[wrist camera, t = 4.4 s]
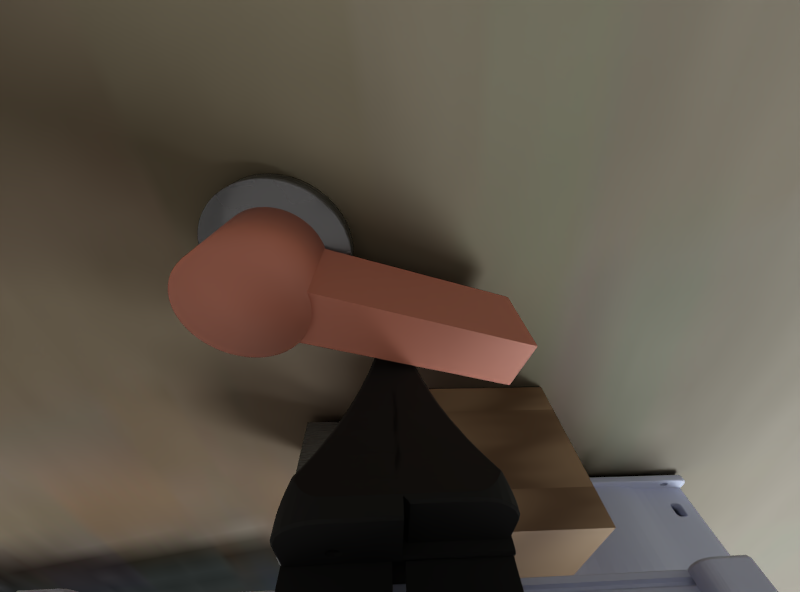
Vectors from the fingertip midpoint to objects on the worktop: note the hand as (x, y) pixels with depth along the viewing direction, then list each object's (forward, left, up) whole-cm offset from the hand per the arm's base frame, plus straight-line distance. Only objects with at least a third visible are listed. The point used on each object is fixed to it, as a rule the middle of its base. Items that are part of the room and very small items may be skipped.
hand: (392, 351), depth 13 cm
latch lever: (+1, -3, -1) cm, 3 cm away
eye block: (-5, +8, -2) cm, 9 cm away
